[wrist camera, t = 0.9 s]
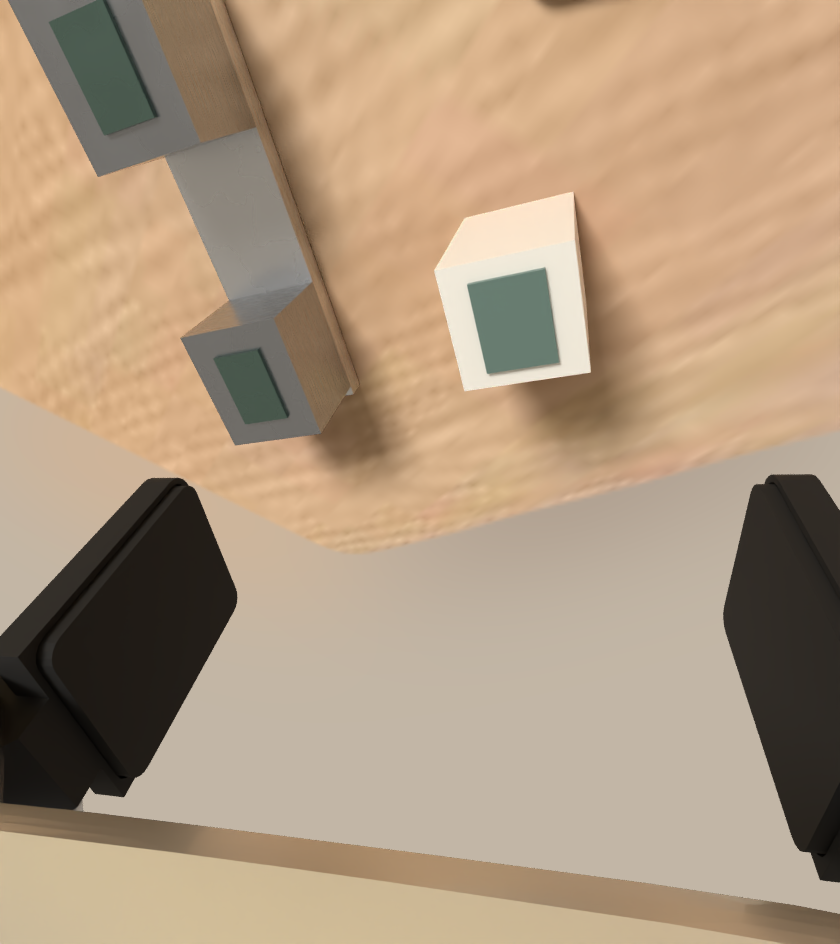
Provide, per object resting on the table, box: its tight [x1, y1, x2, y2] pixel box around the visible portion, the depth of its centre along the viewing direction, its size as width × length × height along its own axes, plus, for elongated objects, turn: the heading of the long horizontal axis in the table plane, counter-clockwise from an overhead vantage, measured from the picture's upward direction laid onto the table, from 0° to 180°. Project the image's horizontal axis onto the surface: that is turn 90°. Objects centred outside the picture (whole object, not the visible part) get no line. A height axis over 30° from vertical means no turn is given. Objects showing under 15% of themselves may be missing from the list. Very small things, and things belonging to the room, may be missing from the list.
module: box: [434, 192, 591, 391], centre depth 25 cm, size 5×5×8 cm
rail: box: [8, 0, 360, 445], centre depth 27 cm, size 5×20×6 cm, turn 15°
